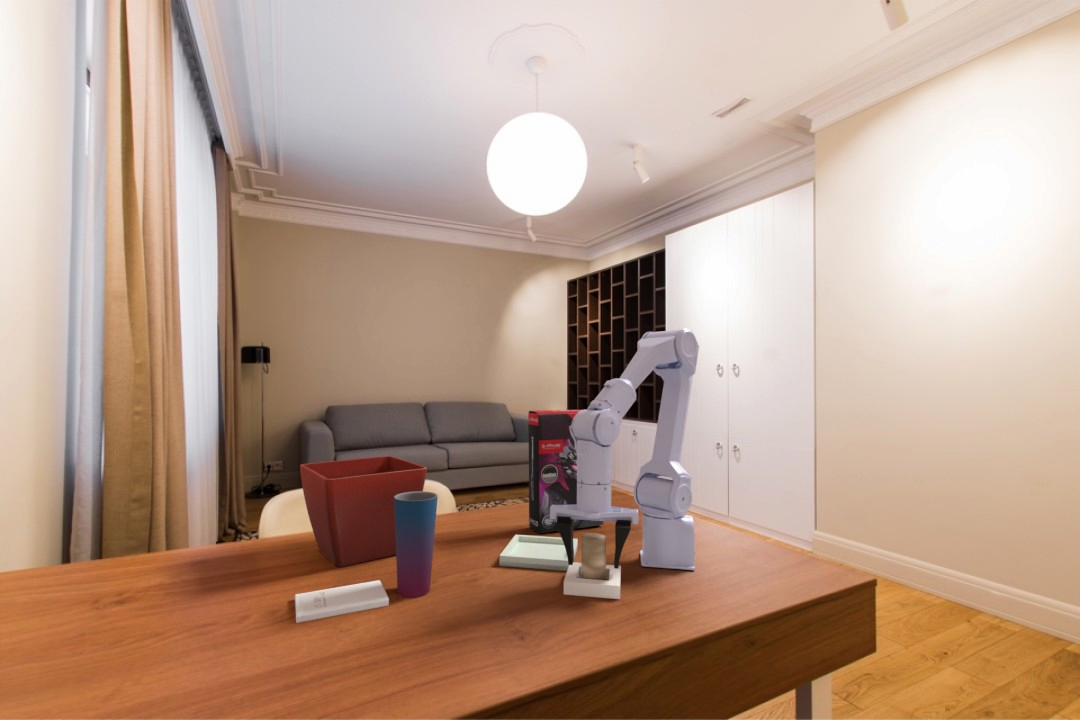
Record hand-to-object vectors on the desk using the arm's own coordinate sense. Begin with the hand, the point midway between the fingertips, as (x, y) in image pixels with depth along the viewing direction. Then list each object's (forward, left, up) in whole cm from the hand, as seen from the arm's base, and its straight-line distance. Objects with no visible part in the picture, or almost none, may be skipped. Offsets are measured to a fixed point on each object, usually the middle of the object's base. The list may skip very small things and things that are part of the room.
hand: (593, 564), depth 81 cm
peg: (0, 0, -3) cm, 3 cm away
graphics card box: (+9, -33, -4) cm, 34 cm away
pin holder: (0, 0, -3) cm, 3 cm away
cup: (+28, +8, -4) cm, 29 cm away
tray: (+11, -12, -3) cm, 17 cm away
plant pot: (+46, -7, -4) cm, 47 cm away
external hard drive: (+37, +14, -4) cm, 40 cm away
